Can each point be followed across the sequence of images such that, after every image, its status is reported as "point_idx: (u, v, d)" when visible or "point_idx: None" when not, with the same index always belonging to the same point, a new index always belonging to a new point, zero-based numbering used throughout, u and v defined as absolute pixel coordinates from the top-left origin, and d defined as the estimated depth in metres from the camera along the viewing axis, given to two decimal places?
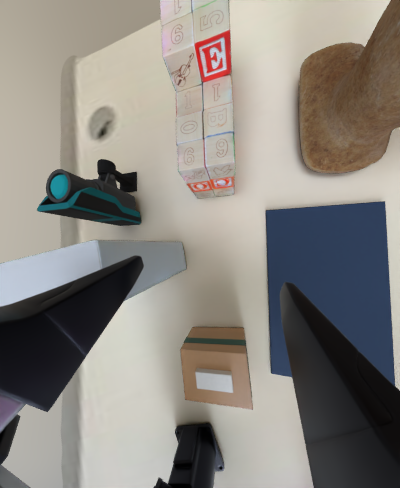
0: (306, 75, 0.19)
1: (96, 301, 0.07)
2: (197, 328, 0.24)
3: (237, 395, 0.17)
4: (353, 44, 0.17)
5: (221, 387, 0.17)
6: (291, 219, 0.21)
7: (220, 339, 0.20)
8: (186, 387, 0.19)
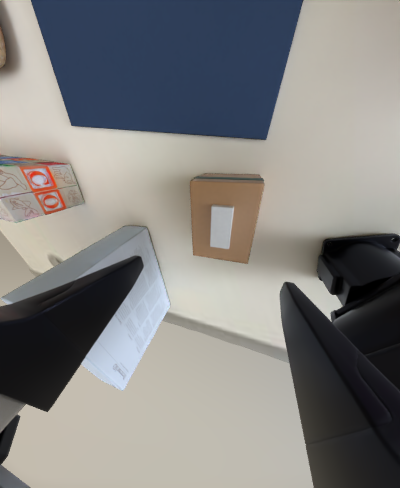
0: None
1: (96, 301, 0.07)
2: None
3: (243, 202, 0.13)
4: None
5: (226, 221, 0.14)
6: (70, 89, 0.17)
7: None
8: (233, 259, 0.16)
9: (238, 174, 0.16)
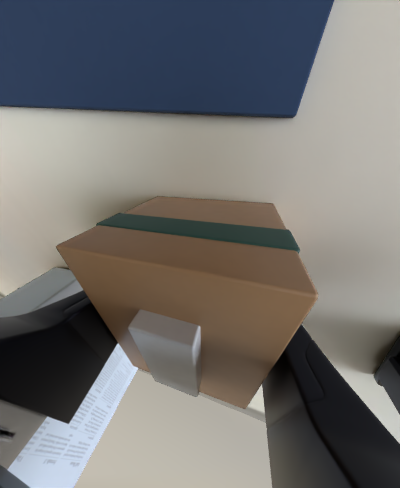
0: None
1: None
2: None
3: (228, 325, 0.04)
4: None
5: (180, 363, 0.04)
6: None
7: None
8: (213, 395, 0.07)
9: (224, 202, 0.07)
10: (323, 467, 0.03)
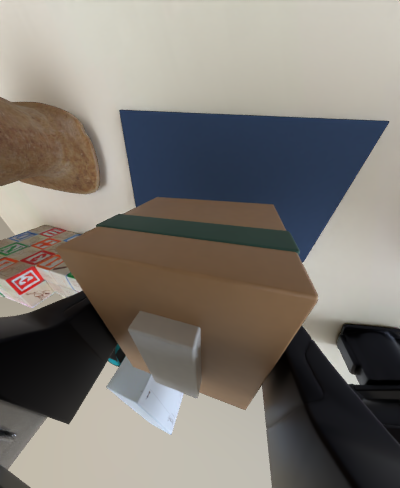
0: (28, 182, 0.22)
1: None
2: None
3: (228, 327, 0.04)
4: None
5: (180, 365, 0.04)
6: None
7: None
8: (213, 396, 0.07)
9: (224, 202, 0.07)
10: (322, 467, 0.03)
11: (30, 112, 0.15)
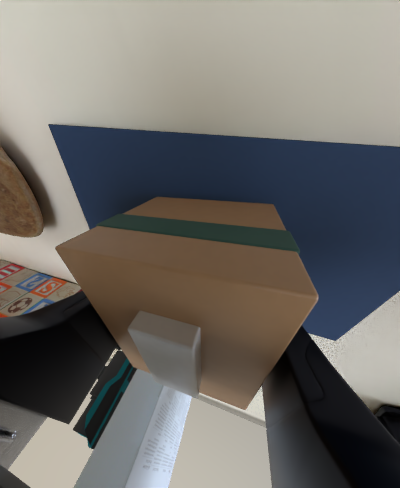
0: None
1: None
2: None
3: (228, 326, 0.04)
4: None
5: (180, 364, 0.04)
6: None
7: None
8: (213, 395, 0.07)
9: (224, 202, 0.07)
10: (323, 467, 0.03)
11: None
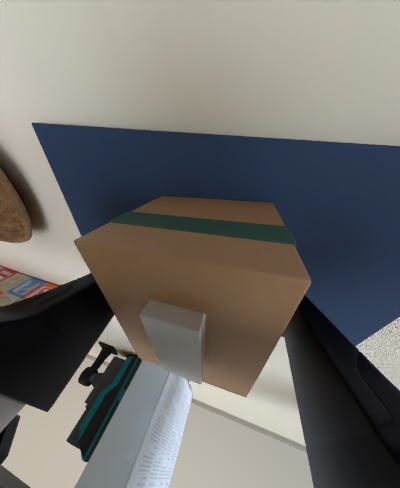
0: None
1: (96, 301, 0.07)
2: None
3: (231, 312, 0.04)
4: None
5: (186, 349, 0.05)
6: None
7: None
8: (215, 384, 0.08)
9: (226, 201, 0.08)
10: None
11: None
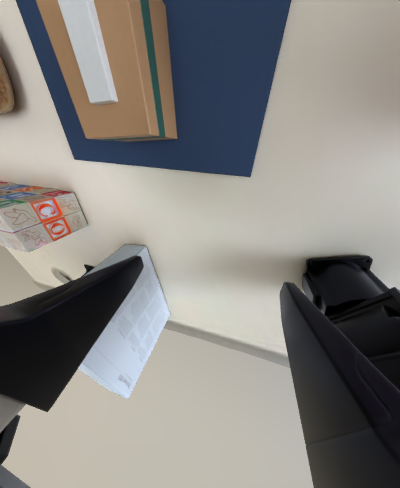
0: None
1: (96, 301, 0.07)
2: None
3: None
4: None
5: (87, 30, 0.09)
6: (73, 130, 0.18)
7: None
8: (131, 129, 0.11)
9: None
10: None
11: None
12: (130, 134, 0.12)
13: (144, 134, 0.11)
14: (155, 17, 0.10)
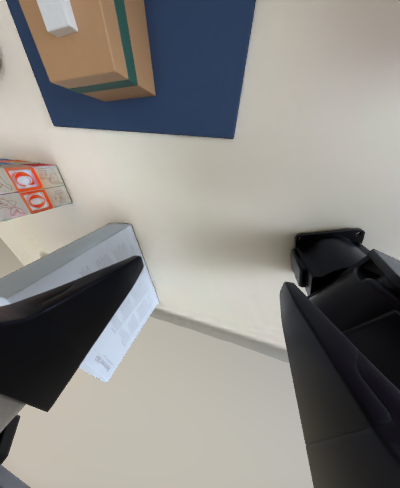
0: None
1: (96, 301, 0.07)
2: None
3: None
4: None
5: None
6: (50, 91, 0.17)
7: None
8: (95, 66, 0.10)
9: None
10: None
11: None
12: (94, 73, 0.11)
13: (109, 72, 0.10)
14: None
